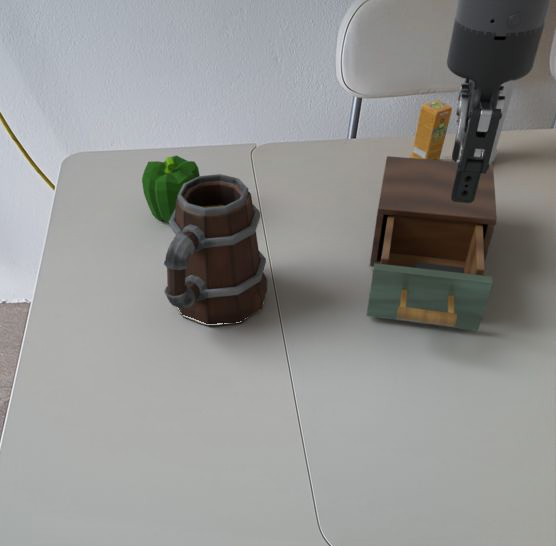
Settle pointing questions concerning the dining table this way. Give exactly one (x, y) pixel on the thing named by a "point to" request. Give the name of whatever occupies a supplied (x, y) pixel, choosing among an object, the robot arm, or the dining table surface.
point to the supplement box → (431, 130)
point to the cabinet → (431, 197)
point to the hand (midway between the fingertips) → (461, 179)
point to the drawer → (430, 273)
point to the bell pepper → (166, 184)
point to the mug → (215, 252)
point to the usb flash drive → (439, 267)
